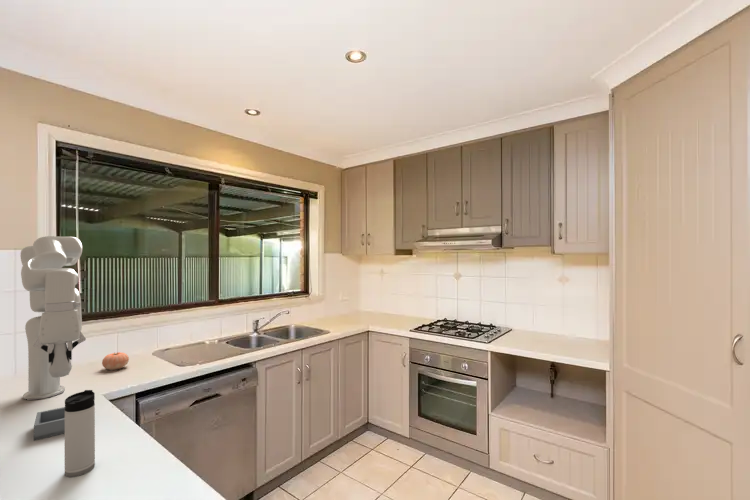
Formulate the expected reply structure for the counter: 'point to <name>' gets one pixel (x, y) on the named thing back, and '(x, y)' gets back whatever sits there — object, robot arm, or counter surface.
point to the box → (49, 423)
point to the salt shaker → (60, 360)
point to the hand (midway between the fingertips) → (60, 362)
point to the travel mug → (79, 433)
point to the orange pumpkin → (115, 361)
